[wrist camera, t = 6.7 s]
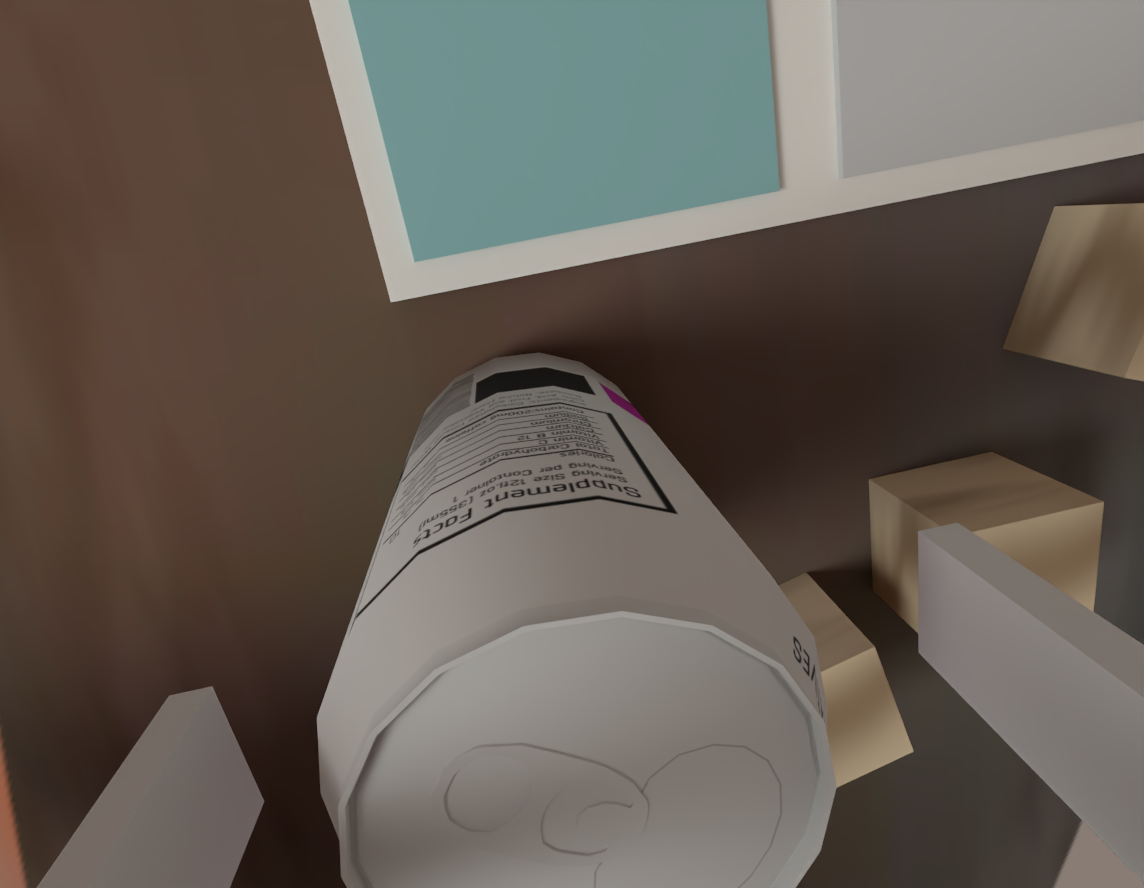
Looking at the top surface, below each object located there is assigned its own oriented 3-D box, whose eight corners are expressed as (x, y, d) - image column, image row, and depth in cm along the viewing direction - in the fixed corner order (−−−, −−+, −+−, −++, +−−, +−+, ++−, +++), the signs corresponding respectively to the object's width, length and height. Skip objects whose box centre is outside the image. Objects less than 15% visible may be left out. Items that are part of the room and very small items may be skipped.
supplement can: (682, 402, 23) (983, 674, 9) (585, 595, 25) (710, 1064, 11) (465, 309, 21) (423, 470, 7) (379, 525, 23) (212, 984, 9)
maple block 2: (986, 562, 27) (1091, 633, 22) (871, 589, 27) (953, 666, 22) (990, 450, 26) (1104, 501, 21) (867, 478, 25) (955, 535, 21)
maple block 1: (841, 662, 28) (913, 751, 23) (735, 713, 28) (784, 811, 23) (805, 571, 26) (874, 646, 22) (691, 625, 26) (736, 712, 22)
